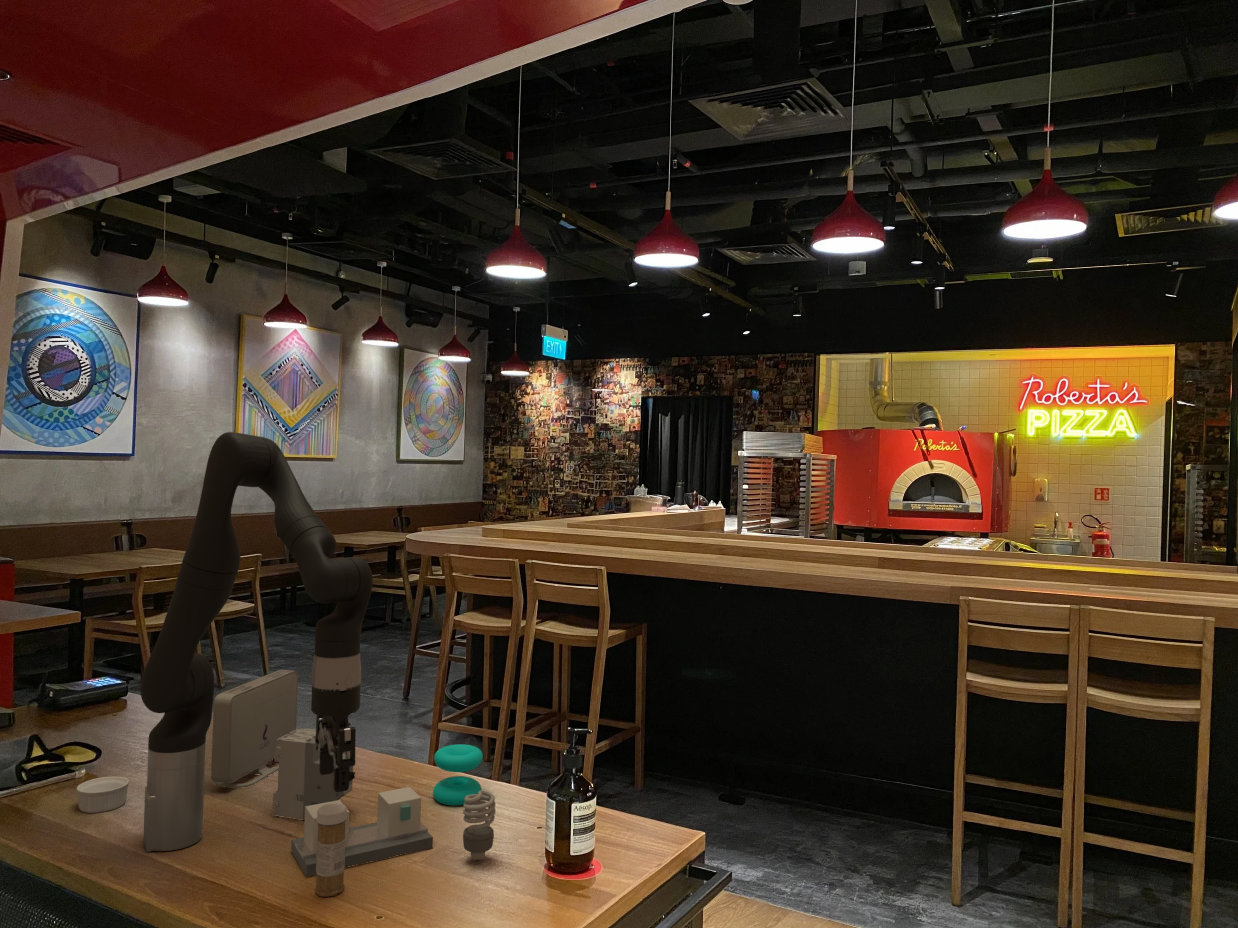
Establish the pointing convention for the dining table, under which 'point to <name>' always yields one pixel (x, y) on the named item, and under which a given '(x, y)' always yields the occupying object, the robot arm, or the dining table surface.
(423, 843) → the mounting board
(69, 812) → the dining table surface
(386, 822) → the mounted modules
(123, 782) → the ramekin
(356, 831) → the din rail
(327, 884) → the sprinkles bottle
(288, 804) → the circuit breaker
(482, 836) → the light bulb
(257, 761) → the network device
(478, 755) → the donuts
